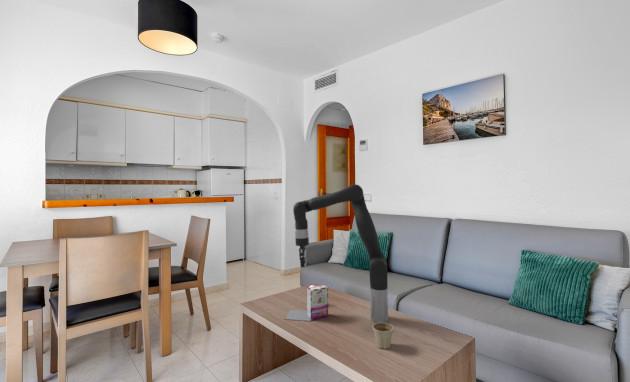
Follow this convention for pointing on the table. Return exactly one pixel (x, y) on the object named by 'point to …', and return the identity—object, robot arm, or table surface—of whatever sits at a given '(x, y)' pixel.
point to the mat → (298, 315)
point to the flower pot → (383, 334)
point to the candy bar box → (317, 302)
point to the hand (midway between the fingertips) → (303, 265)
